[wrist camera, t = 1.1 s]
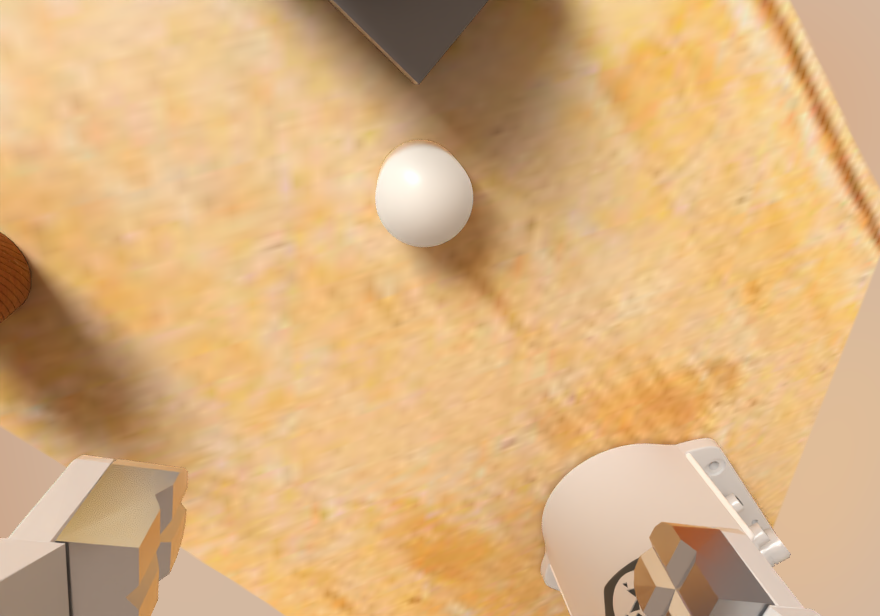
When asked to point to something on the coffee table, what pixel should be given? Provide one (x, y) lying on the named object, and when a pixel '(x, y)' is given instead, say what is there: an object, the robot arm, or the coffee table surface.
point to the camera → (411, 28)
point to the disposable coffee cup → (12, 278)
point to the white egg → (423, 194)
